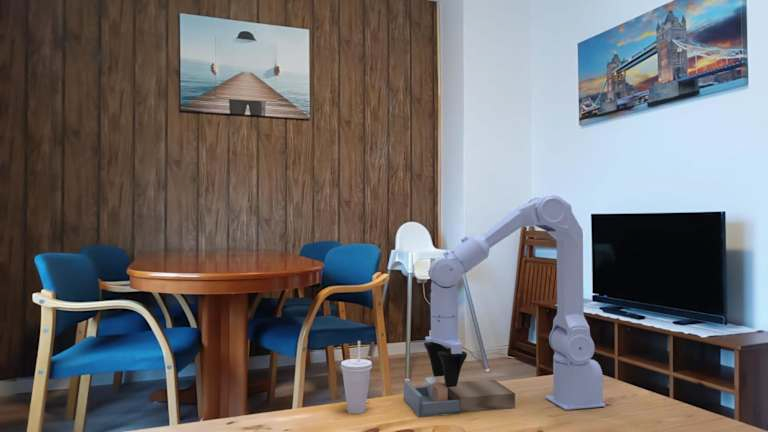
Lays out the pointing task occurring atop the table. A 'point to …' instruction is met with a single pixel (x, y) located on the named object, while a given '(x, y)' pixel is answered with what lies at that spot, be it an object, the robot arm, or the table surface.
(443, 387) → the tile terracotta
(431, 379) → the tile cream
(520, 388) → the table surface
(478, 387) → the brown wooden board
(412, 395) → the tray
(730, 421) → the table surface
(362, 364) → the smoothie
